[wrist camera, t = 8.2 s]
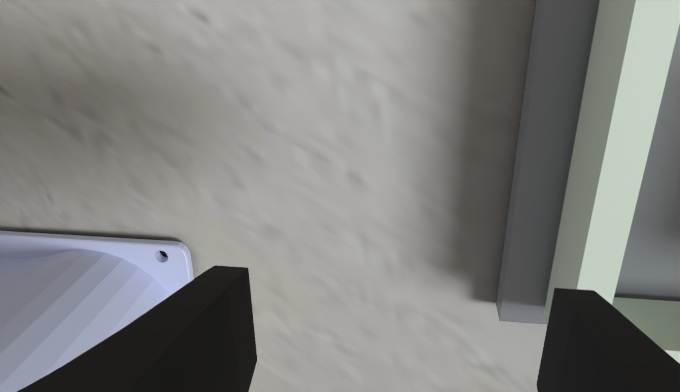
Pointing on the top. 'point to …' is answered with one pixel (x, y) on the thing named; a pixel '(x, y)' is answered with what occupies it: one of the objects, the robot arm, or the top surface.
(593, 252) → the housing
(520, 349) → the top surface
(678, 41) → the housing base
